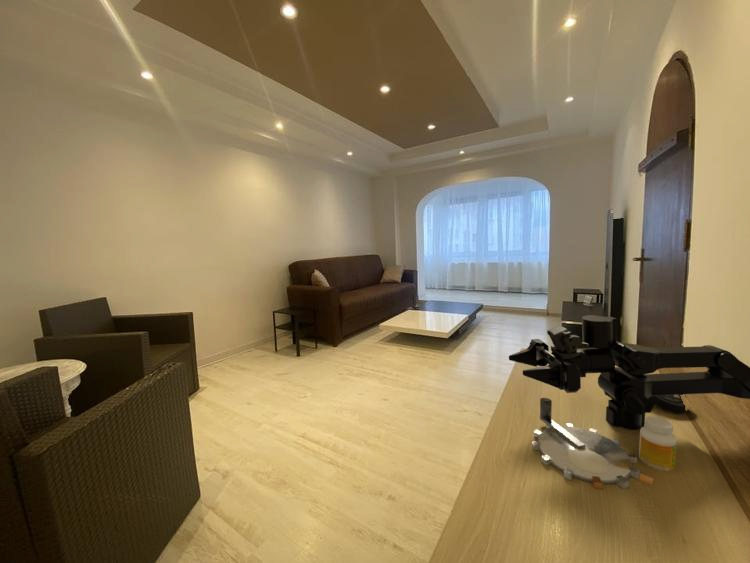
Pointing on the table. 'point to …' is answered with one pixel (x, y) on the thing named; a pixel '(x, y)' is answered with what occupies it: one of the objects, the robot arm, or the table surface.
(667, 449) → the supplement bottle
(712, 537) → the table surface
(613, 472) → the sprocket
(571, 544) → the table surface
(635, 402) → the robot arm
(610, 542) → the table surface
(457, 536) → the table surface
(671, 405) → the caster wheel
